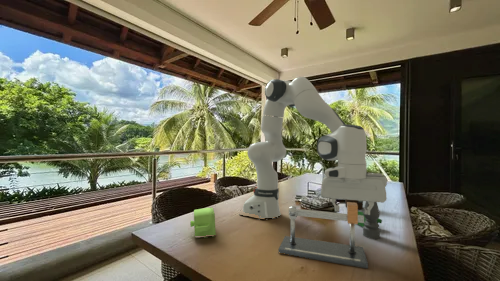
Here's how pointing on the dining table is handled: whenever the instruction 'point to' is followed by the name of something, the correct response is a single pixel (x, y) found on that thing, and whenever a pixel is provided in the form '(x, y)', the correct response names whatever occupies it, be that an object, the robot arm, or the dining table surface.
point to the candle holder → (371, 222)
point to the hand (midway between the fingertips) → (351, 212)
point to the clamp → (365, 219)
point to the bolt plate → (324, 251)
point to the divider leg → (352, 222)
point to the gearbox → (204, 222)
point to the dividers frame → (315, 214)
